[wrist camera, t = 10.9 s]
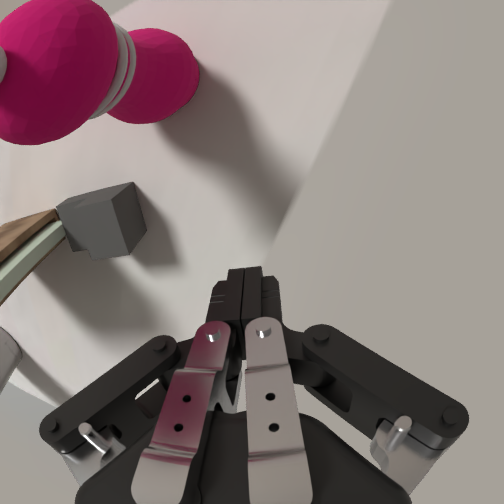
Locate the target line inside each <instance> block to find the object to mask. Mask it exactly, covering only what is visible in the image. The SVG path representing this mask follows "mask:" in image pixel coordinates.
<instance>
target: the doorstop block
mask: <svg viewBox="0 0 504 504" xmlns="http://www.w3.org/2000/svg"><path fill="white" fill-rule="evenodd" d="M56 208H57V211H58V214H59V216H60V219H61V222H62V225H63V228H64V230H65V233H66V236H67V238H68V241H69V243H70V246H71V248H72V251H73V252H75V251H81V250H87V249H88V251H89V254H90V256H91V259H92V260H97V259H104V258H111V257H119V256H126V255H130V253H131V252H132V250H133V249H134V248H135V246H136V245H137V243H138V242H139V241H140V239H141V238H142V236H143V235H144V234H145V232H146V231H147V229H146V226H145V222H144V219H143V215H142V212H141V208H140V205H139V201H138V198H137V194H136V190H135V187H134V183H133V182H129V183H125V184H121V185H117V186H112V187H108V188H104V189H100V190H97V191H93V192H89V193H85V194H81V195H78V196H74V197H71V198H68V199H66V200H65V201H63V202H62V203H61V204H59V205H58V206H56Z"/></svg>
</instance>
